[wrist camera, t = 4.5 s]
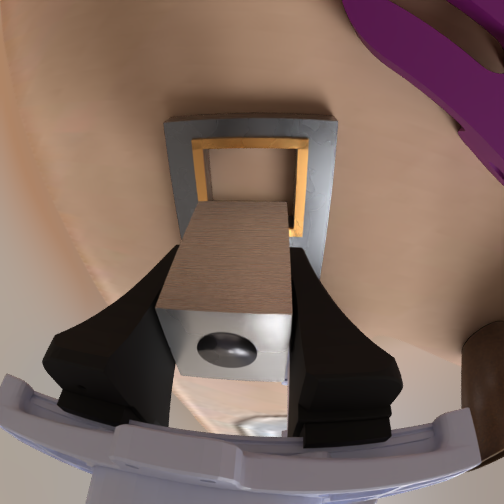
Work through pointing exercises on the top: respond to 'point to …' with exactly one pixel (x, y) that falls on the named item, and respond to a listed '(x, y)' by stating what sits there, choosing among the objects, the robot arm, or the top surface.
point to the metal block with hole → (230, 293)
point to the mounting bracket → (442, 68)
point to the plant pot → (485, 389)
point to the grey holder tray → (258, 136)
